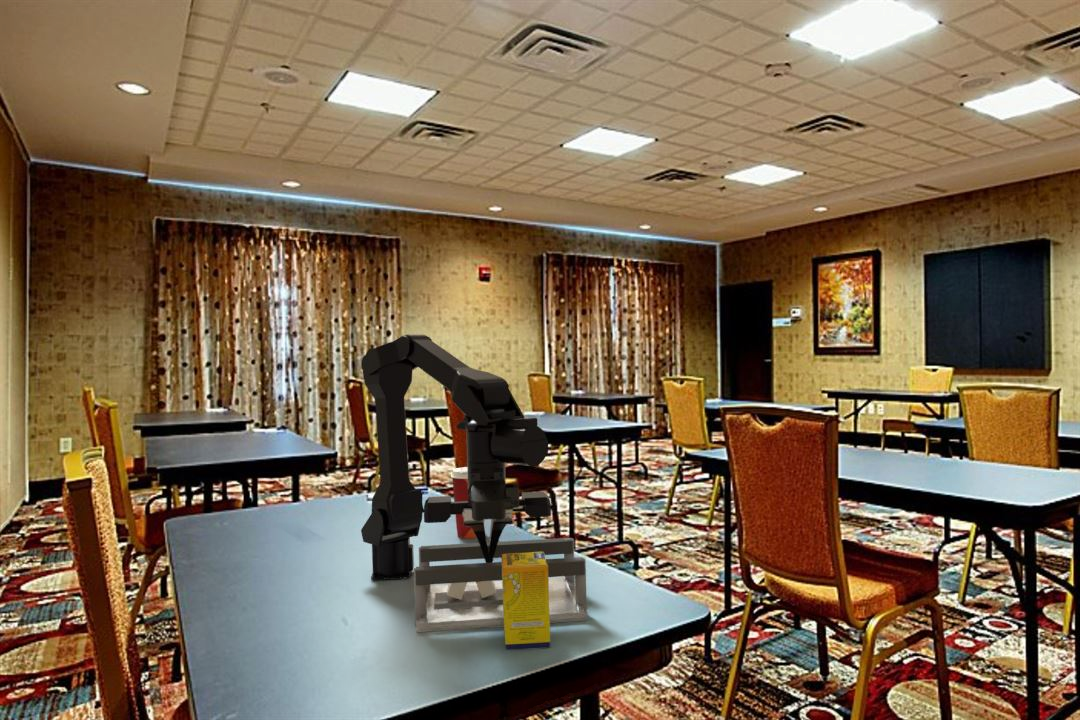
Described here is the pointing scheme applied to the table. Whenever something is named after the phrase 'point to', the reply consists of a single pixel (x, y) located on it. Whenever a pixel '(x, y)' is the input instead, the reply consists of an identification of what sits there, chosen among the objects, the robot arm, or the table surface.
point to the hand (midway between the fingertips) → (488, 563)
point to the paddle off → (486, 588)
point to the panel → (491, 607)
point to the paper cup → (460, 495)
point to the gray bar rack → (493, 566)
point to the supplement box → (525, 601)
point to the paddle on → (456, 590)
